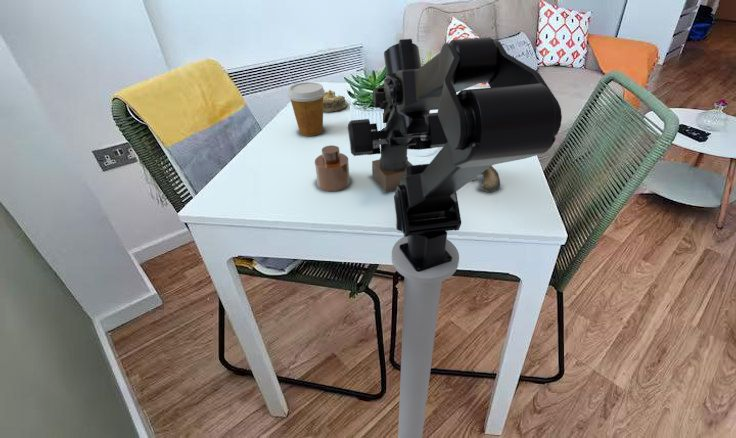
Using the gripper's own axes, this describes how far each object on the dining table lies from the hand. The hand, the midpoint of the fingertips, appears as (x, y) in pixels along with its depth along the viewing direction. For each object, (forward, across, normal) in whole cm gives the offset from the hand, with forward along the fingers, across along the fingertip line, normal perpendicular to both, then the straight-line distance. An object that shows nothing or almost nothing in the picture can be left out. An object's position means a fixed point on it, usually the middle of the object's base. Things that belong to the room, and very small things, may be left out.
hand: (392, 148), depth 78 cm
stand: (+4, 0, +6) cm, 7 cm away
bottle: (+5, +13, +5) cm, 15 cm away
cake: (+38, +10, -27) cm, 47 cm away
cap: (+1, 0, +3) cm, 3 cm away
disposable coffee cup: (+25, +17, -15) cm, 34 cm away
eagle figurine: (+2, -18, +9) cm, 20 cm away
